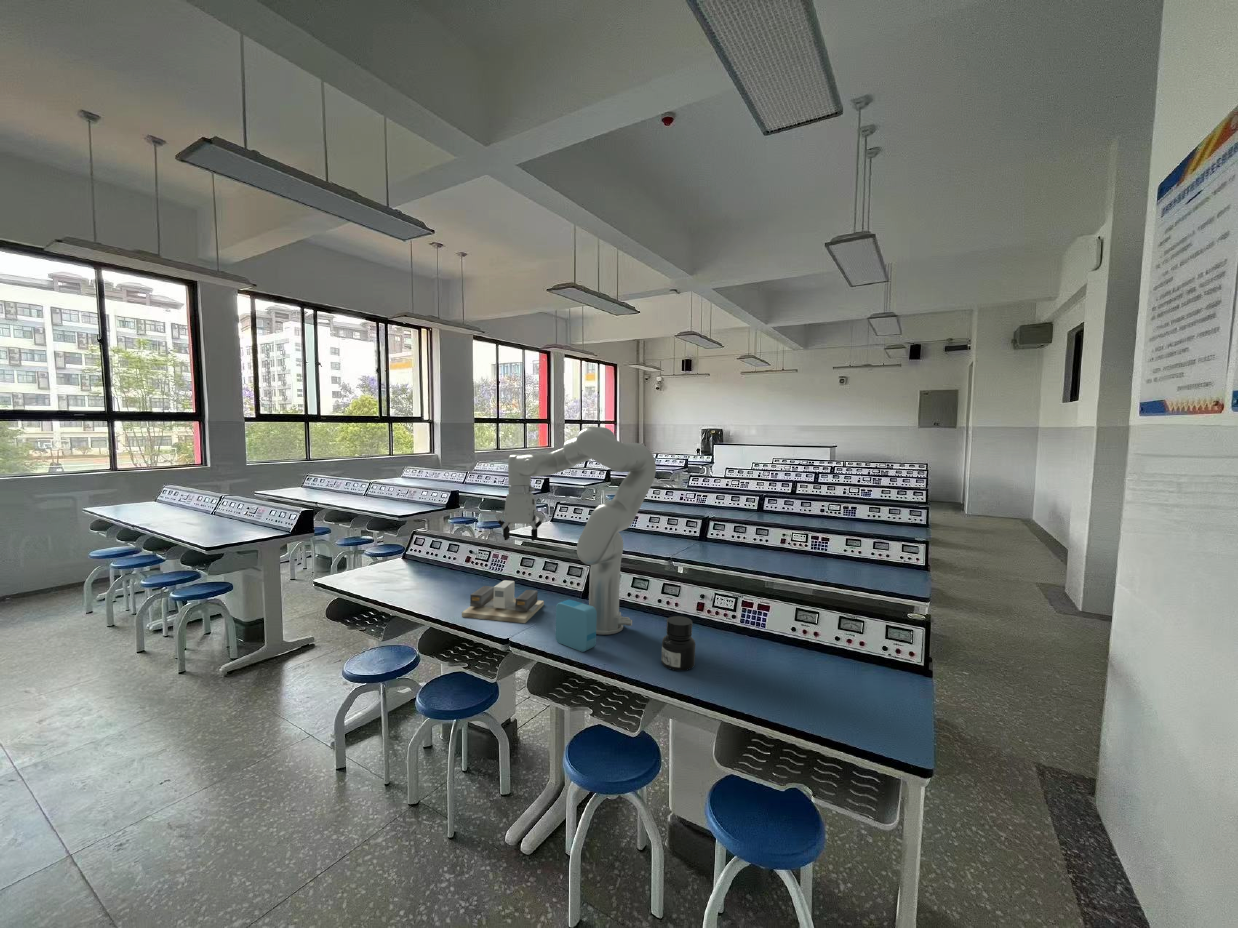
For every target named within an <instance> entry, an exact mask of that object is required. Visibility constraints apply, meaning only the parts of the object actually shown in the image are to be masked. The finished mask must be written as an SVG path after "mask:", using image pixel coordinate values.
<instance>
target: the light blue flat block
mask: <svg viewBox="0 0 1238 928" xmlns="http://www.w3.org/2000/svg"><path fill="white" fill-rule="evenodd" d="M596 620H597V612H596V609H595V608H594V607H593V606H590V605H589V604H586V603H582V602H579V601H576V600H572V599H570V598H569V599H566V600H563V601H560V602H558V603H557V604H556V606H555V640H556V642H557V643H558V644H560V645H563V646H566V647H568V648H570V649H574V650H576V651H579V652H582V653H584V652H586V651H589V650H590V649H592V648H595V646H596V644H597V634H596Z"/></svg>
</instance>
